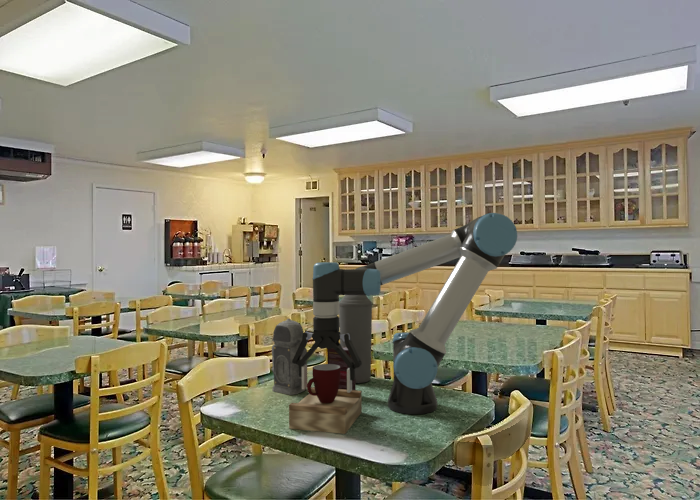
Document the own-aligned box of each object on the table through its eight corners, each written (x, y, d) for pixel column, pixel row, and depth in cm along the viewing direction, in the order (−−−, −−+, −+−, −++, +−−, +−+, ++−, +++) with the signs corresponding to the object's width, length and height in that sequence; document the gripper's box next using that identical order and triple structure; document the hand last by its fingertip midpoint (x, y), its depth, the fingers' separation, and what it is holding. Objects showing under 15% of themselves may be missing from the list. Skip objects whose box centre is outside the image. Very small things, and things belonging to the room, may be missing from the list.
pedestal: (361, 412, 151) (361, 390, 151) (345, 433, 134) (344, 409, 134) (311, 408, 156) (311, 387, 155) (289, 428, 138) (288, 404, 138)
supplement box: (356, 394, 170) (356, 347, 169) (349, 398, 165) (348, 350, 165) (334, 391, 174) (334, 345, 174) (326, 394, 170) (326, 347, 170)
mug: (319, 409, 138) (319, 373, 138) (300, 403, 144) (300, 368, 144) (346, 401, 146) (346, 366, 146) (327, 395, 152) (327, 362, 151)
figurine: (296, 396, 168) (296, 321, 167) (265, 390, 176) (265, 318, 176) (314, 389, 176) (314, 318, 175) (284, 383, 184) (283, 315, 184)
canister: (334, 383, 183) (334, 287, 183) (344, 374, 196) (343, 285, 196) (368, 385, 180) (368, 288, 180) (376, 376, 192) (375, 285, 192)
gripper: (371, 315, 145) (372, 389, 145) (290, 313, 151) (291, 383, 152) (365, 319, 138) (365, 396, 138) (280, 316, 144) (281, 390, 144)
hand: (326, 389), depth 145 cm, fingers open, 13 cm apart
